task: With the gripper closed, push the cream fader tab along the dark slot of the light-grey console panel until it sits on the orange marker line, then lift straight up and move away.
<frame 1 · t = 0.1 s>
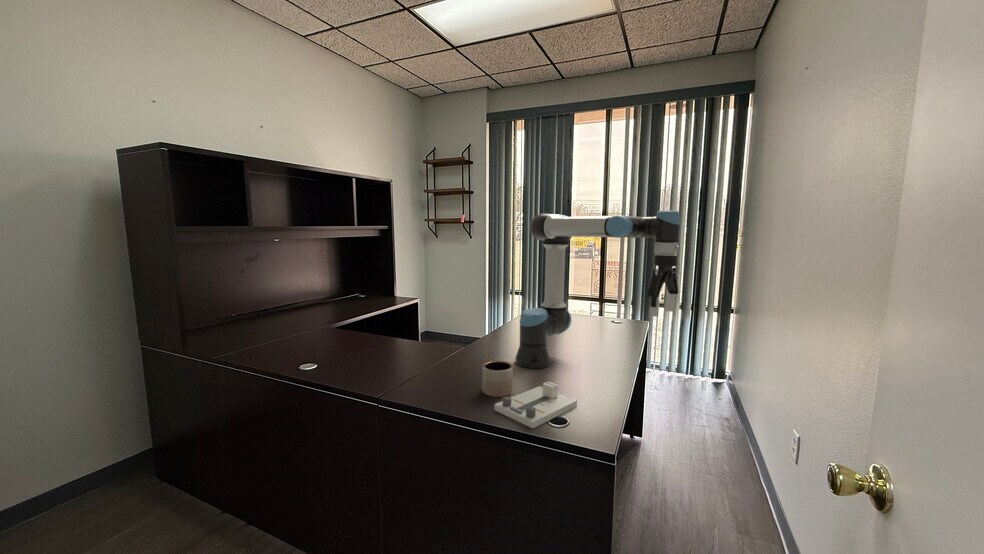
hand: (662, 313, 141), 28 cm above the table, fingers open, 13 cm apart
planter: (497, 392, 139), on the table
console: (536, 408, 126), on the table
fader: (550, 389, 131), point 4 cm above the table, slide at 0.0 cm
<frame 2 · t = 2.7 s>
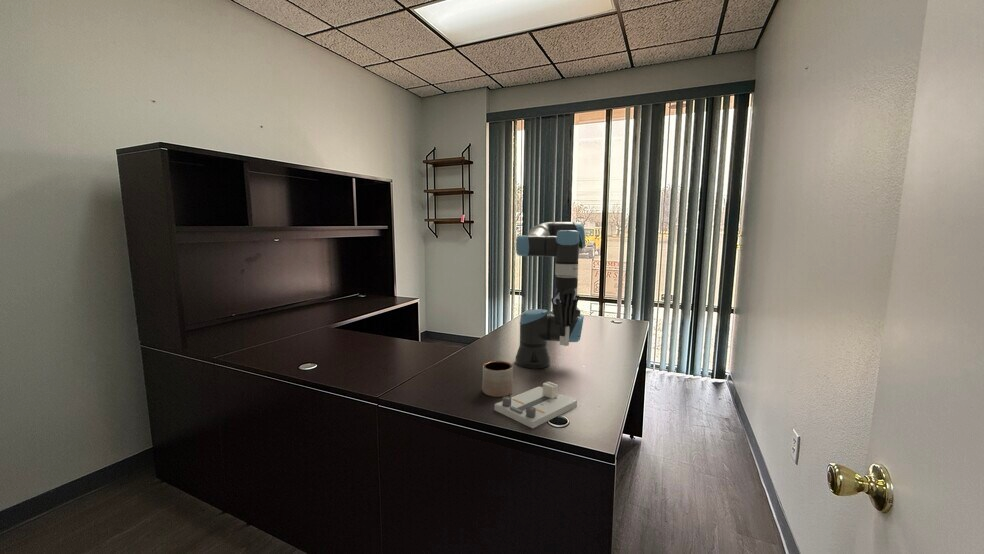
hand: (564, 344, 134), 18 cm above the table, fingers closed
nothing on the table moved.
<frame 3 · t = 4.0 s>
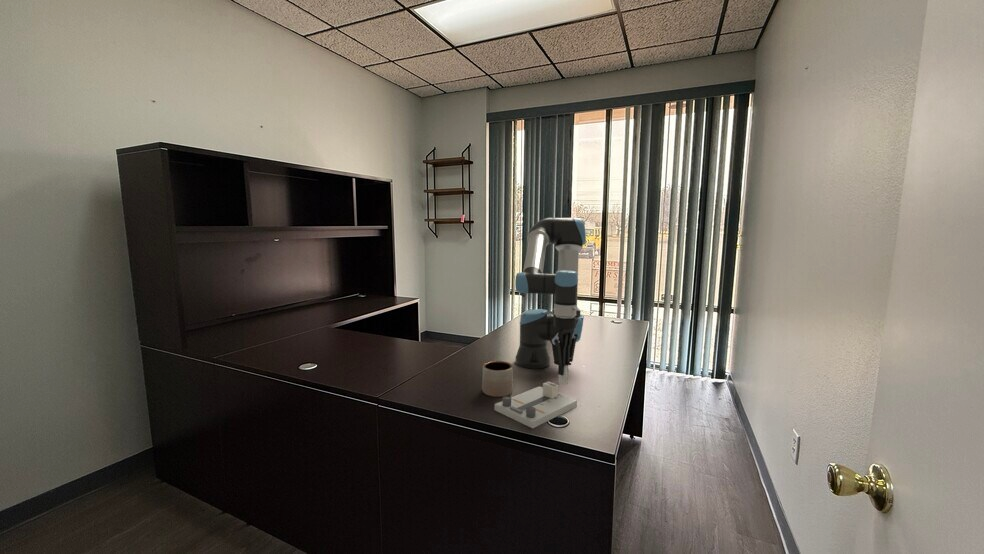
hand: (562, 383, 135), 5 cm above the table, fingers closed
nothing on the table moved.
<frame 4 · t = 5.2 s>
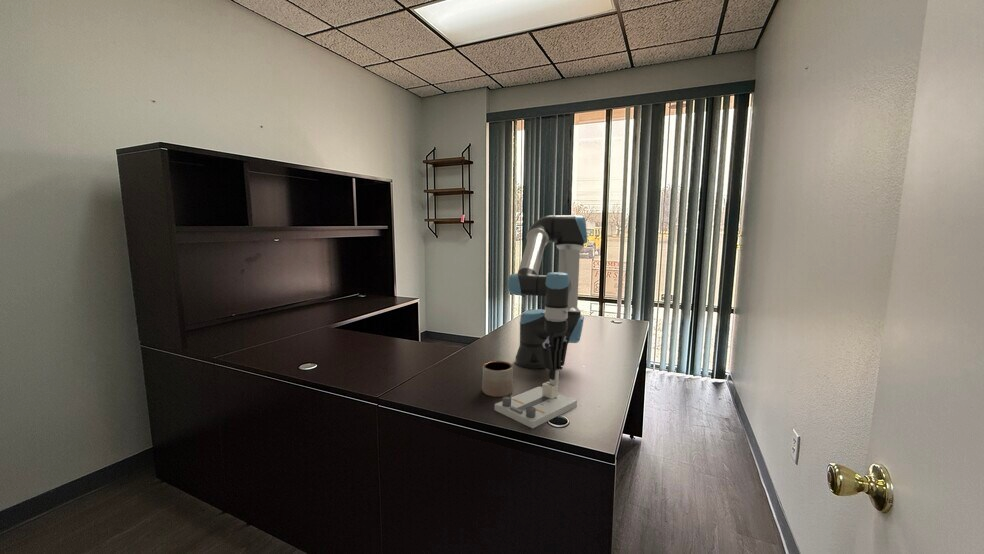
hand: (554, 387, 132), 4 cm above the table, fingers closed
fader: (549, 389, 131), point 4 cm above the table, slide at 0.2 cm, touching gripper
everything else where it was.
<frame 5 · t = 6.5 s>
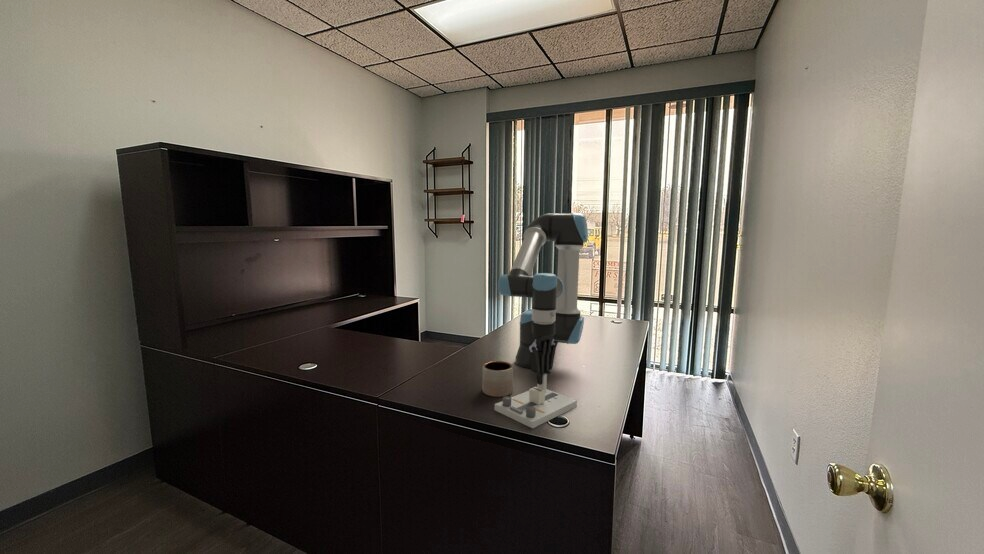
hand: (541, 392, 128), 5 cm above the table, fingers closed
fader: (537, 395, 126), point 4 cm above the table, slide at 6.7 cm, touching gripper
everything else where it was.
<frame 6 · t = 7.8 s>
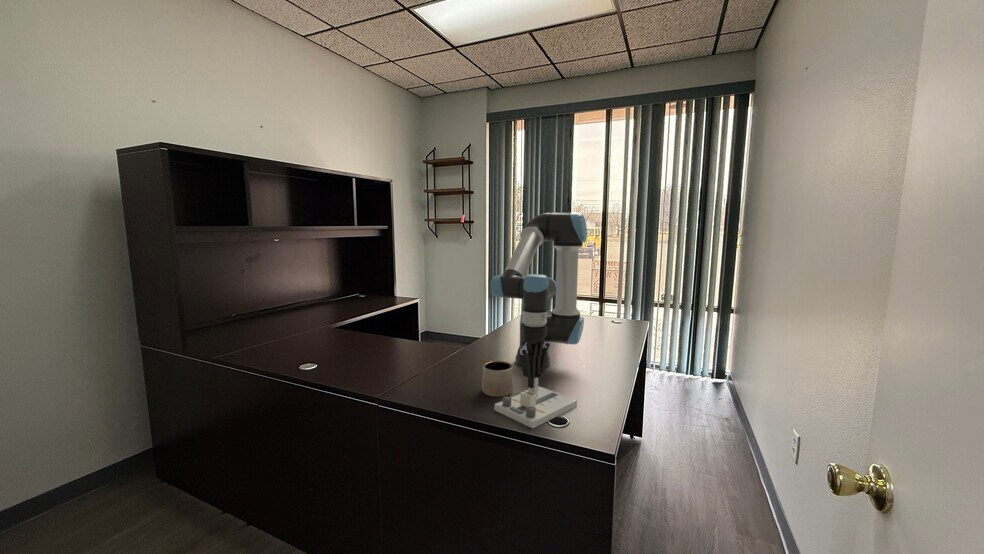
hand: (533, 396, 125), 4 cm above the table, fingers closed
fader: (528, 399, 123), point 4 cm above the table, slide at 11.0 cm, touching gripper
everything else where it was.
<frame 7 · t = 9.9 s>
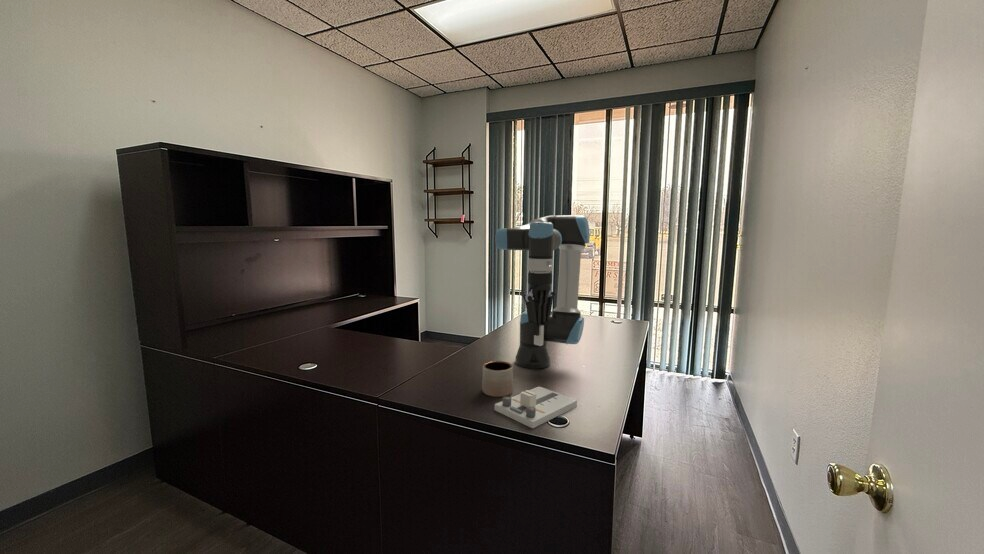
hand: (538, 344, 126), 21 cm above the table, fingers closed
fader: (528, 399, 123), point 4 cm above the table, slide at 11.0 cm
everything else where it was.
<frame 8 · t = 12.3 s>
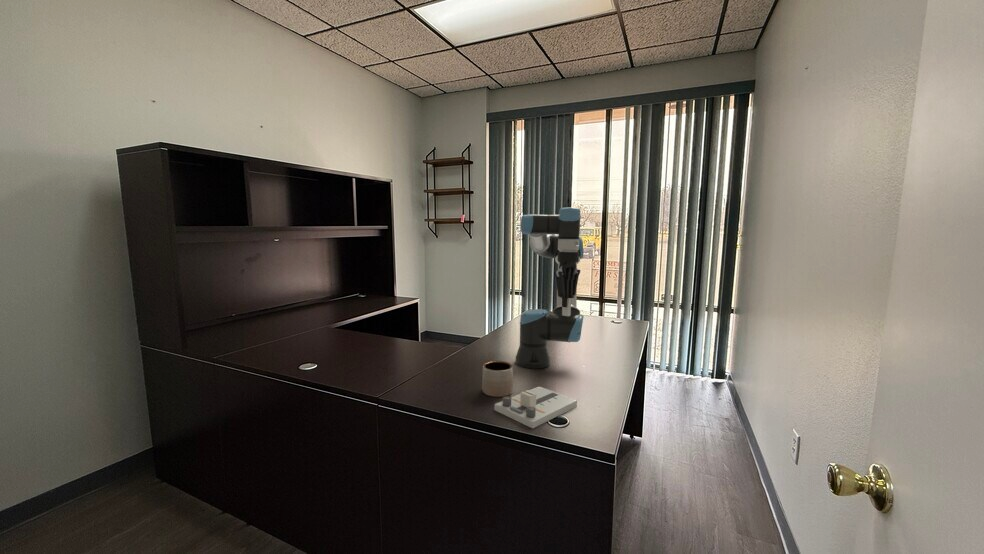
hand: (566, 315, 144), 26 cm above the table, fingers closed
nothing on the table moved.
at the end: fader slide at 11.0 cm; the gripper is holding nothing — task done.
